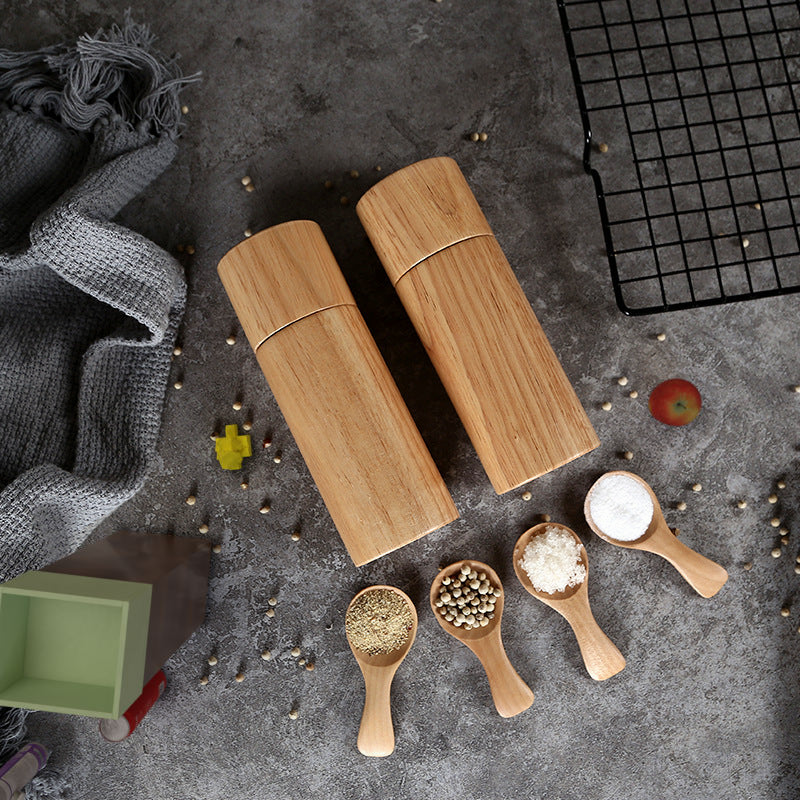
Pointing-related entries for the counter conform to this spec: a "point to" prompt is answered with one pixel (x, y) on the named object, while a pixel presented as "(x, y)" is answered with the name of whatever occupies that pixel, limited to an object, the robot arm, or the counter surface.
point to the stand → (152, 582)
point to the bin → (72, 643)
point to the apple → (675, 402)
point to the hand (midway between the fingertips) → (4, 783)
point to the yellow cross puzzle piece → (232, 448)
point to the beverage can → (133, 711)
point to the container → (21, 769)
